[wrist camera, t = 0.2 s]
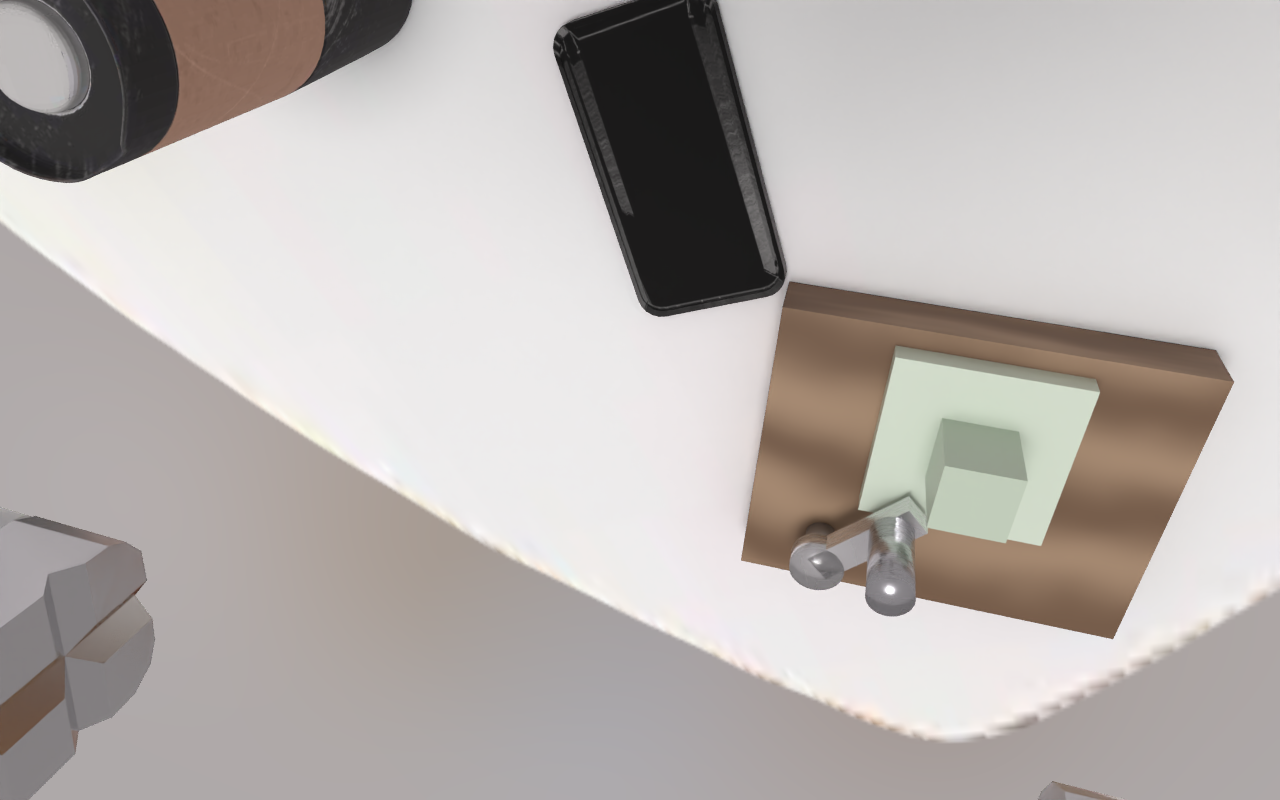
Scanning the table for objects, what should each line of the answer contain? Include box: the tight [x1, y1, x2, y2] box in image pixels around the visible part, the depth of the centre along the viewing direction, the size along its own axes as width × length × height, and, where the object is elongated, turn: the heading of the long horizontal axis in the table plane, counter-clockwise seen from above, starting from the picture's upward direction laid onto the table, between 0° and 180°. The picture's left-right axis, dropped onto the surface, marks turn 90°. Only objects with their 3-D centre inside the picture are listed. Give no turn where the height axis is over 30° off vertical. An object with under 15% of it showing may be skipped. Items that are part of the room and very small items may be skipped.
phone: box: [553, 0, 787, 317], centre depth 46 cm, size 8×1×15 cm
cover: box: [858, 346, 1100, 546], centre depth 44 cm, size 9×9×5 cm
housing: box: [741, 282, 1234, 639], centre depth 48 cm, size 16×20×4 cm
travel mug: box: [0, 0, 412, 183], centre depth 37 cm, size 8×8×20 cm
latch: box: [789, 496, 928, 616], centre depth 46 cm, size 7×3×6 cm, turn 131°
